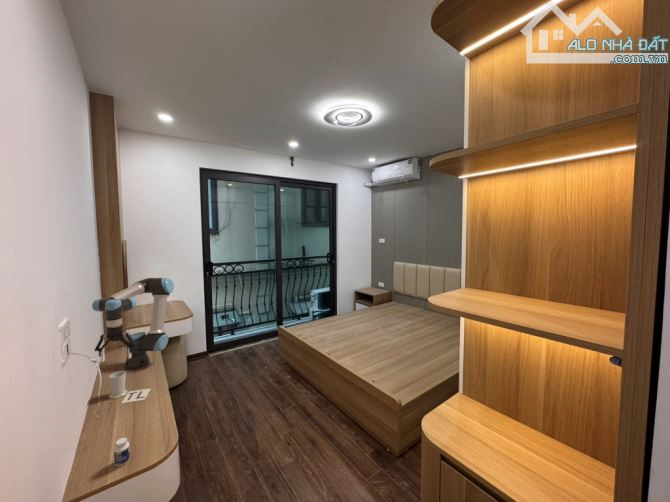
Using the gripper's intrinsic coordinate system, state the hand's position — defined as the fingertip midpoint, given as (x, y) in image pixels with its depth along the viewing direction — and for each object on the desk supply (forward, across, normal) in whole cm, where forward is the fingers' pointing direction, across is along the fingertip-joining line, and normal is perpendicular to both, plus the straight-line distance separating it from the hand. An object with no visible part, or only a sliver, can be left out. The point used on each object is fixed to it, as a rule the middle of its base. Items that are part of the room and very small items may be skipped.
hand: (116, 359), depth 167 cm
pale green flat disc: (+22, 0, 0) cm, 22 cm away
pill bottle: (+22, +22, -59) cm, 67 cm away
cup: (+22, 0, 0) cm, 22 cm away
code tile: (+22, +11, -5) cm, 25 cm away
